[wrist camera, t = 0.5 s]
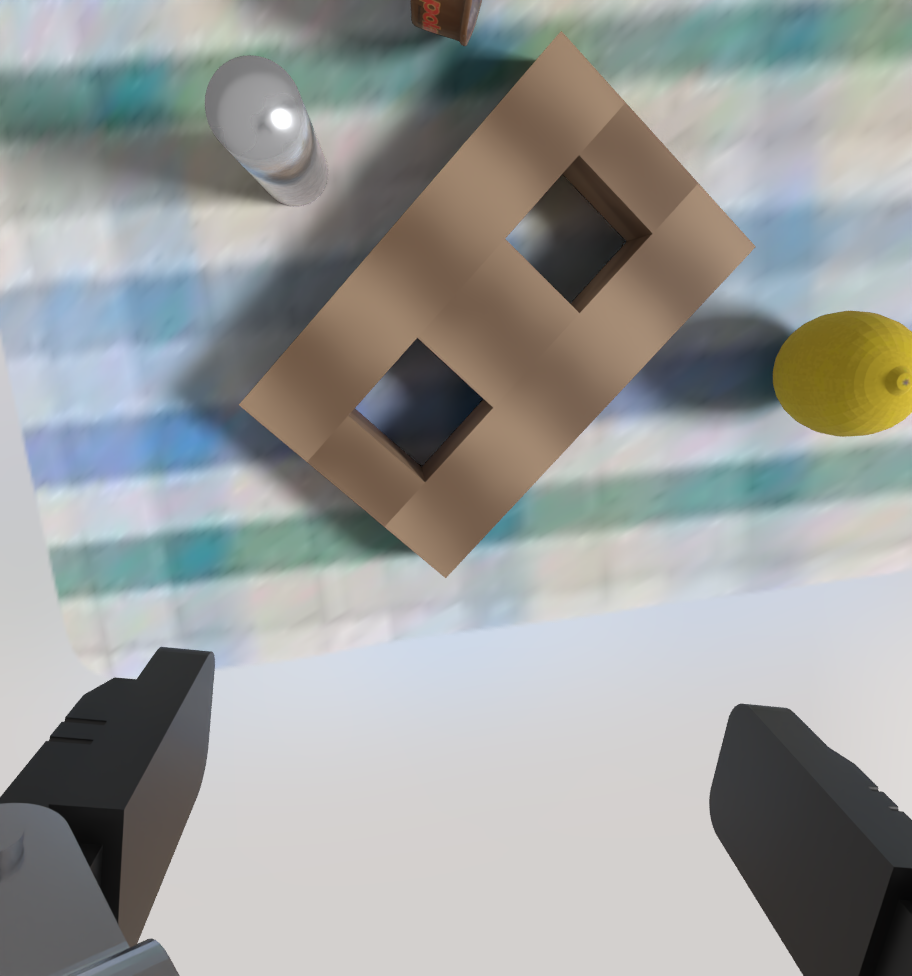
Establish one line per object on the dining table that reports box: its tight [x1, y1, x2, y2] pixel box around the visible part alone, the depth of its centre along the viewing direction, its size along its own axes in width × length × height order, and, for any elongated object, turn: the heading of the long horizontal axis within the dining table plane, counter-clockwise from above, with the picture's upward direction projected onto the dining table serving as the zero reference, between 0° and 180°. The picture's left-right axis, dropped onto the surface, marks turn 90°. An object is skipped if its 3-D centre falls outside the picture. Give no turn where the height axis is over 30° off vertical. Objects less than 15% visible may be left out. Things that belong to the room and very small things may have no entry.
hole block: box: [239, 31, 755, 578], centre depth 33 cm, size 20×12×4 cm, turn 138°
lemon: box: [773, 311, 912, 437], centre depth 33 cm, size 6×6×8 cm
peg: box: [205, 56, 328, 206], centre depth 28 cm, size 3×3×10 cm
